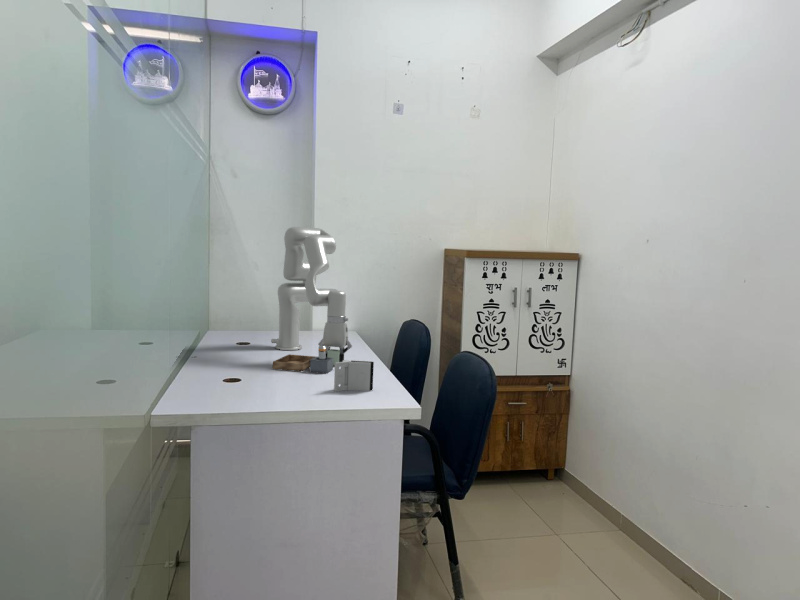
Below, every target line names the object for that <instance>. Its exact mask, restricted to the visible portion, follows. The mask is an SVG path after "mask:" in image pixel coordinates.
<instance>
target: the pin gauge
mask: <svg viewBox="0 0 800 600" xmlns="http://www.w3.org/2000/svg"><path fill="white" fill-rule="evenodd" d="M317 357H318V360H325V357H326V346H325V345H324V346H319V345H318V356H317Z"/></svg>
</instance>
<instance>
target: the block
mask: <svg viewBox="0 0 800 600" xmlns="http://www.w3.org/2000/svg"><path fill="white" fill-rule="evenodd" d="M333 368H334V365H333V358H328V357H325V360H318V356H315V358H313V359H311V364H310V368H309V370H310V371H309V372H310V373H314V372H318V373H317V374H326V373H327V374H329V373H330V372H332V371H333V370H334V369H333Z"/></svg>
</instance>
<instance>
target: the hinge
mask: <svg viewBox="0 0 800 600" xmlns="http://www.w3.org/2000/svg"><path fill="white" fill-rule="evenodd" d="M374 363H375V362H374V361H373V360H355V359H354V360H352V359H350V360H347V359H344V360H343V361H342V362H337V363H335V366H334V375H333V376H334V383H333V391H334V392H340V391H358V390H367V391H366V392H370V390H372V389H373V388H374V366H375V365H374ZM372 391H373V390H372Z"/></svg>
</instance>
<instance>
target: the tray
mask: <svg viewBox="0 0 800 600" xmlns="http://www.w3.org/2000/svg"><path fill="white" fill-rule="evenodd" d="M315 357H316V356H314V355H313V356H312V355H300V354H287V355H284V356H283V357H280V358H278V359H276V360H273V361H272V370H278V369H282V370H281V371H289V370H294V371H293V372H301V371H303V372H305V371H306V370H307V368H308V369H310V368H309V367H310V364H311V359H313V358H315ZM305 369H306V370H305Z"/></svg>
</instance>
